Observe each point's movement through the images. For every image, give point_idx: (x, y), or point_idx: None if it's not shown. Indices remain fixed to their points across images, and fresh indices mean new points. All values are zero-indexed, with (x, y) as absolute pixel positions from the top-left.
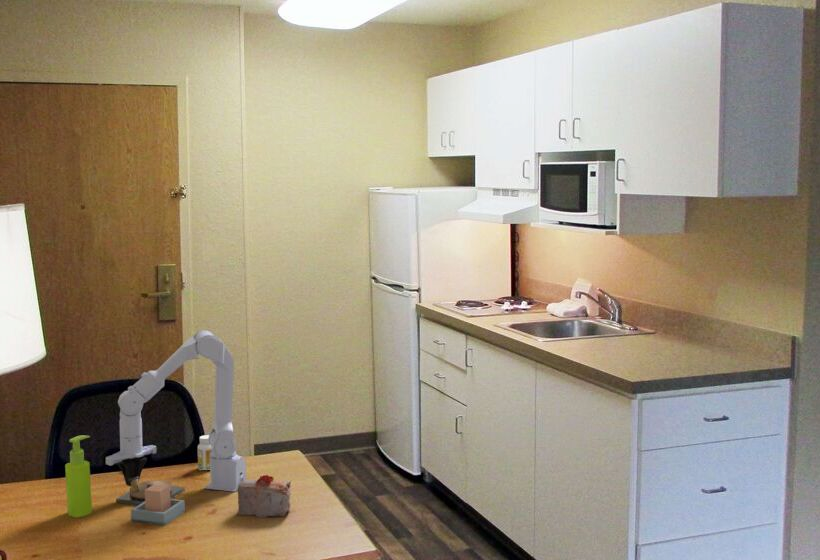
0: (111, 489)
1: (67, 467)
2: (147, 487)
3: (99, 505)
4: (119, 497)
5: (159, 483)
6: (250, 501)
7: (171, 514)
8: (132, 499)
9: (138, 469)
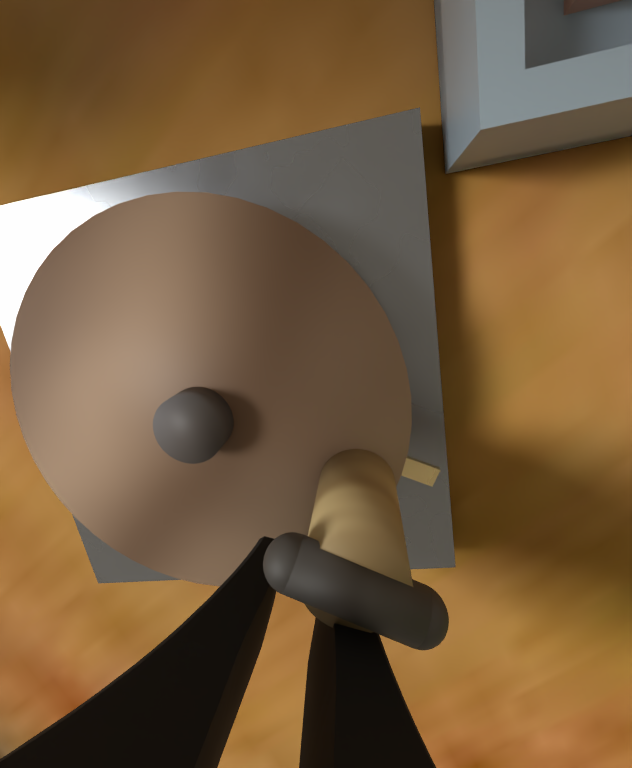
0: (261, 698)
1: None
2: (227, 438)
3: (540, 611)
4: (419, 561)
5: (79, 416)
6: None
7: None
8: (416, 441)
9: (213, 715)
